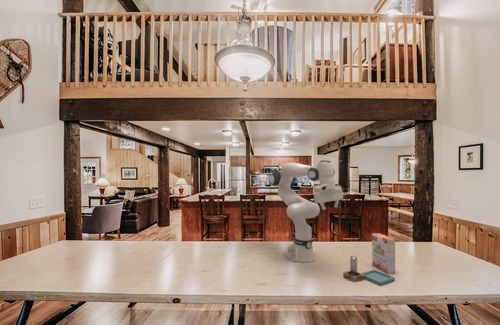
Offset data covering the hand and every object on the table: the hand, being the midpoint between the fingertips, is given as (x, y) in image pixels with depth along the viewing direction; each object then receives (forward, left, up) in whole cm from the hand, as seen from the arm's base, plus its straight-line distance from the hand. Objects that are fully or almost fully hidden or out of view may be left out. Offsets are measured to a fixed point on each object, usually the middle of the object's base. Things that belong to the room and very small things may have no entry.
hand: (330, 208), depth 160 cm
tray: (+21, +15, -38) cm, 46 cm away
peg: (+14, +4, -38) cm, 41 cm away
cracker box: (+14, +31, -39) cm, 52 cm away
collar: (+14, +4, -38) cm, 41 cm away
